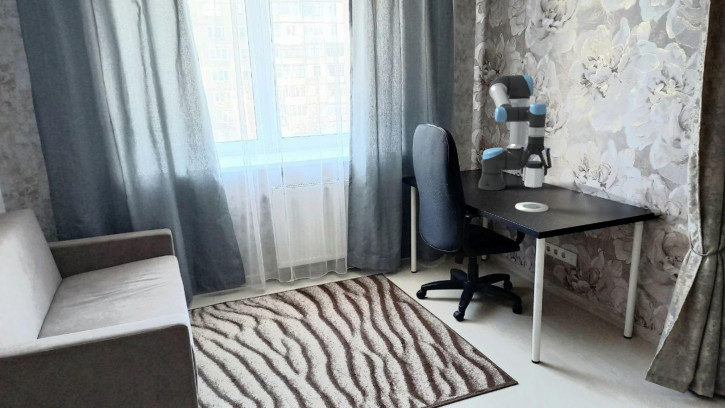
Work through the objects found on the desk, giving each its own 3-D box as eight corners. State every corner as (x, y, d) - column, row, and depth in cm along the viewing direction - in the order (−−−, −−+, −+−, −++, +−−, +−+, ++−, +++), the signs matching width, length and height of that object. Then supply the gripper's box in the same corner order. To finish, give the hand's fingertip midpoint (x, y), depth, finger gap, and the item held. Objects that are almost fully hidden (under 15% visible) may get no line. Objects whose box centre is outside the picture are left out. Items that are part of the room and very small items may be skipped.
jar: (542, 187, 242) (544, 163, 239) (525, 187, 244) (526, 163, 241) (540, 183, 251) (541, 160, 248) (523, 183, 252) (524, 160, 249)
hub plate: (509, 205, 257) (509, 203, 256) (537, 202, 259) (537, 201, 259) (525, 213, 241) (525, 211, 241) (554, 210, 244) (554, 209, 244)
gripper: (512, 135, 243) (509, 180, 249) (557, 137, 232) (553, 184, 238) (516, 133, 249) (514, 177, 255) (561, 135, 238) (557, 181, 244)
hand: (533, 180), depth 247 cm, fingers closed on jar, 9 cm apart
